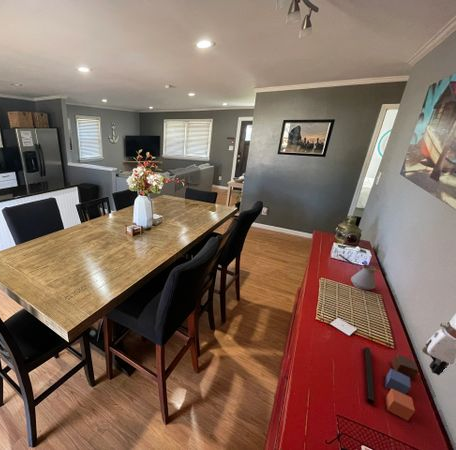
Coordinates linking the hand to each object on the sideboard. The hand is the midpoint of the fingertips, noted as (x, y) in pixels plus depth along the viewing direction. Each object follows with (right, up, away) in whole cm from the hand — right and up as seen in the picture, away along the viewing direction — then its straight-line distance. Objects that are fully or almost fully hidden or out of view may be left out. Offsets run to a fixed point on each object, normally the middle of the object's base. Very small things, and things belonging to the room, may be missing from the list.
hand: (434, 371), depth 85 cm
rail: (-20, -4, +4) cm, 21 cm away
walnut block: (-6, -4, +6) cm, 9 cm away
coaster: (-12, +5, +26) cm, 29 cm away
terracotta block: (-20, -8, -7) cm, 23 cm away
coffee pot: (+19, +17, +59) cm, 65 cm away
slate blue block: (-14, -6, 0) cm, 15 cm away
